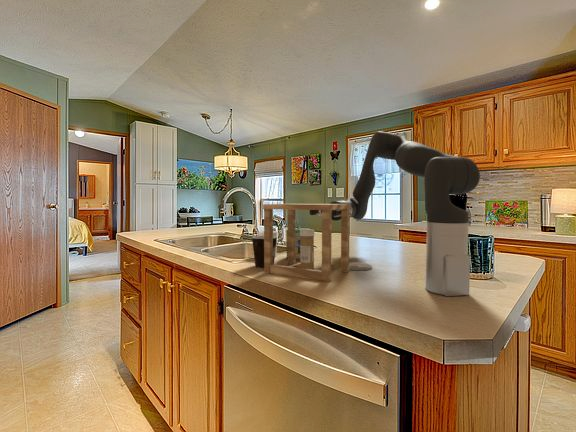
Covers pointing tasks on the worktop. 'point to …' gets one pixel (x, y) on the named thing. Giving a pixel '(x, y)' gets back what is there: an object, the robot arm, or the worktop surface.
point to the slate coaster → (359, 266)
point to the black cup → (275, 233)
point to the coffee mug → (261, 250)
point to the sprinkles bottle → (307, 249)
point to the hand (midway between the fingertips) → (322, 212)
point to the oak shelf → (294, 269)
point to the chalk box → (296, 241)
